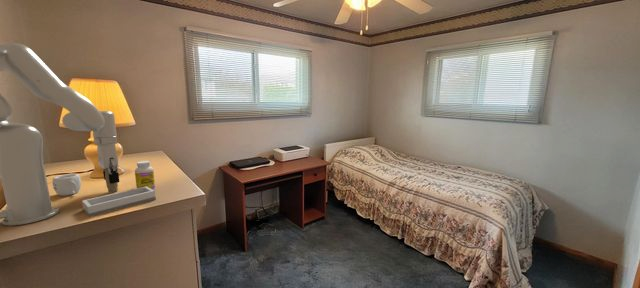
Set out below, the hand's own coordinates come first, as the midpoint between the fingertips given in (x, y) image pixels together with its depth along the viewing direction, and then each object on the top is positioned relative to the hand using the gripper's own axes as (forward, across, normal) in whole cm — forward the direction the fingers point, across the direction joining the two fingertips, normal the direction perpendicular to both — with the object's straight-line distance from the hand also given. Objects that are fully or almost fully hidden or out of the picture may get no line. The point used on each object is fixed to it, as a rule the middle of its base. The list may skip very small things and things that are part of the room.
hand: (111, 180), depth 110 cm
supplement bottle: (+5, +10, +9) cm, 15 cm away
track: (+5, +20, -2) cm, 21 cm away
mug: (+5, -10, -12) cm, 17 cm away
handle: (+5, 0, 0) cm, 5 cm away
